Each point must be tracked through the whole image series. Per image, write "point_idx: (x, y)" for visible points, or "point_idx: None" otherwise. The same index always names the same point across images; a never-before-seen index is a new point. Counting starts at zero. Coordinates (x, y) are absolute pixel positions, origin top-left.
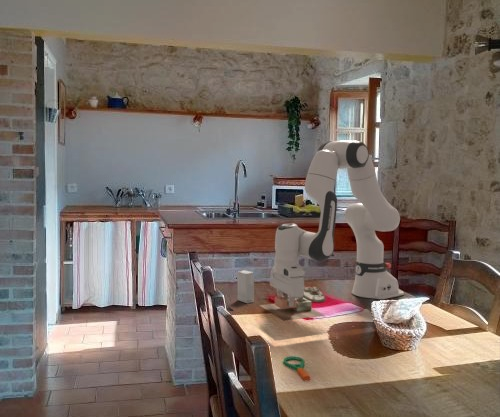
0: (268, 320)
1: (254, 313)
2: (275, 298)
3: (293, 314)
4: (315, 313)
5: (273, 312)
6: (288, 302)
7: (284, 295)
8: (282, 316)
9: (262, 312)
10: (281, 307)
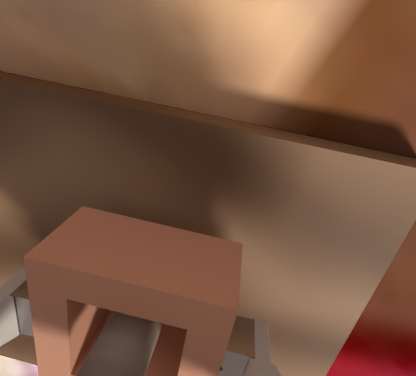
0: (79, 9)
1: (346, 20)
2: (220, 292)
3: (37, 232)
4: (18, 337)
5: (146, 135)
6: (15, 291)
7: (85, 373)
8: (11, 127)
9: (314, 119)
10: (88, 214)
